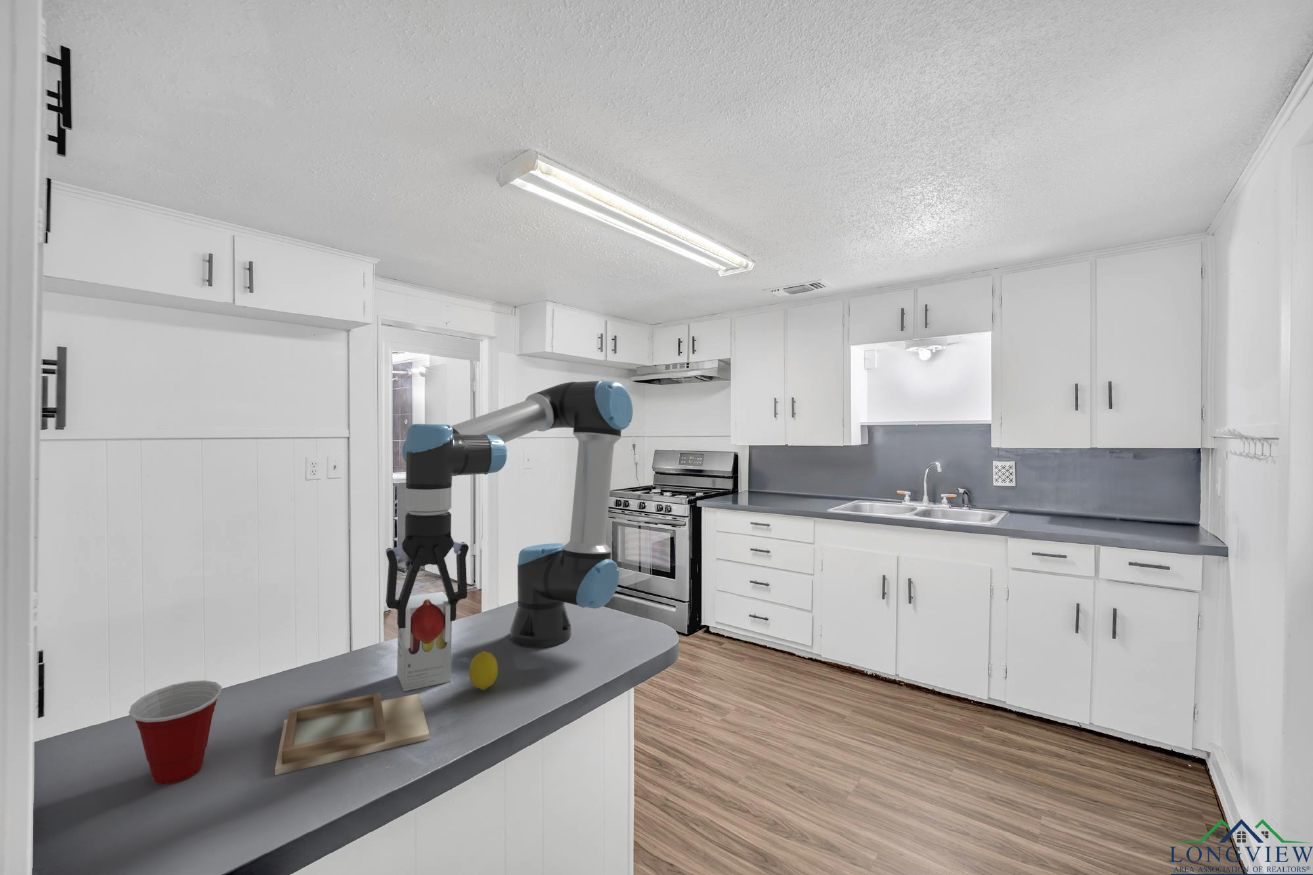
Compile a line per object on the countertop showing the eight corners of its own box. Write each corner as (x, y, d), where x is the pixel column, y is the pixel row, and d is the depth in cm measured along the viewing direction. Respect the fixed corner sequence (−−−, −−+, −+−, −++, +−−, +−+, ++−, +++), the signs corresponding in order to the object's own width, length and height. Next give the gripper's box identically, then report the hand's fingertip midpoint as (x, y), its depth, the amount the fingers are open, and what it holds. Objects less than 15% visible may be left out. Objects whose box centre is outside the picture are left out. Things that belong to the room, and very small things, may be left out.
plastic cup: (115, 804, 80) (114, 720, 80) (147, 762, 90) (146, 686, 90) (210, 786, 85) (210, 706, 84) (230, 747, 94) (230, 675, 94)
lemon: (464, 690, 116) (464, 650, 116) (488, 681, 120) (489, 643, 120) (478, 699, 112) (478, 658, 112) (503, 690, 116) (503, 651, 116)
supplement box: (402, 692, 114) (403, 608, 114) (395, 675, 122) (396, 596, 122) (452, 681, 120) (453, 601, 119) (442, 665, 127) (443, 590, 127)
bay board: (418, 698, 112) (418, 683, 112) (429, 739, 98) (429, 721, 98) (284, 725, 101) (284, 708, 101) (275, 775, 87) (275, 755, 87)
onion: (409, 640, 103) (408, 596, 103) (443, 635, 105) (442, 592, 105) (410, 652, 98) (409, 606, 97) (446, 646, 100) (445, 601, 100)
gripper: (478, 506, 109) (476, 627, 109) (367, 511, 99) (366, 644, 100) (488, 511, 102) (486, 640, 103) (370, 518, 93) (368, 659, 93)
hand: (426, 642), depth 101 cm, fingers closed on onion, 6 cm apart
